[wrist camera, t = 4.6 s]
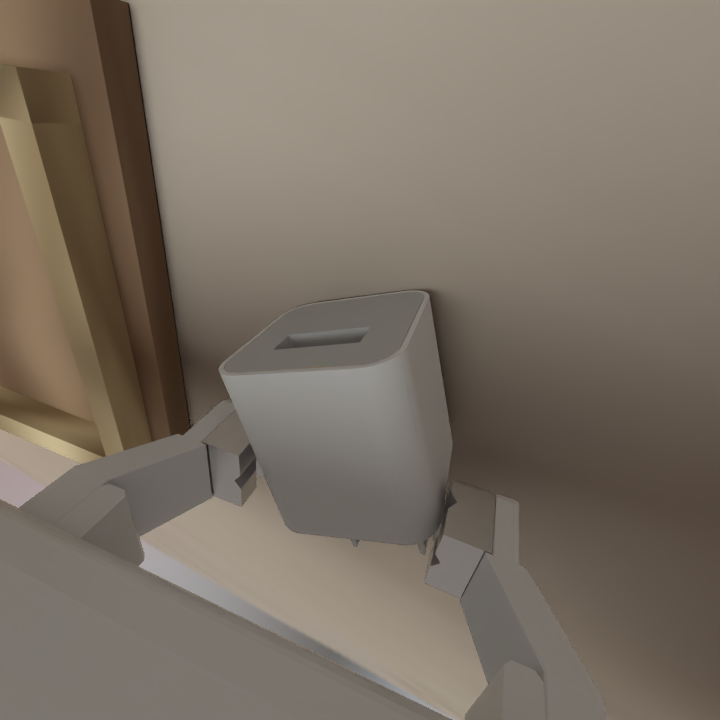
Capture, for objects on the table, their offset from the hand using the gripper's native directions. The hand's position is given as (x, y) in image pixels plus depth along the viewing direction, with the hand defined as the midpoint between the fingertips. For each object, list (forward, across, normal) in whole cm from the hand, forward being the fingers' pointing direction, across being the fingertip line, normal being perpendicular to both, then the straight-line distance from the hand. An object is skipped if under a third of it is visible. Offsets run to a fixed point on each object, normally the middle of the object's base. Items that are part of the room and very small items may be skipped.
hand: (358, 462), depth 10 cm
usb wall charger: (+2, 0, 0) cm, 3 cm away
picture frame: (+2, +15, -1) cm, 15 cm away
